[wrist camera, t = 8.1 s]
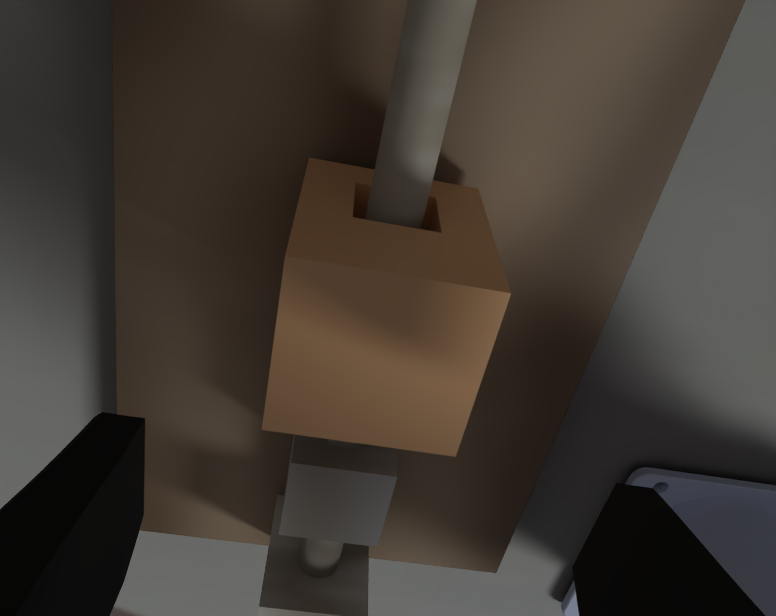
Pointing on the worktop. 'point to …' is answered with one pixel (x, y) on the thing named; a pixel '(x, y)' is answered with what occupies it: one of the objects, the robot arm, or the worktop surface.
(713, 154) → the worktop surface
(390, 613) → the worktop surface
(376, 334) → the sleeve
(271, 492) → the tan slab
